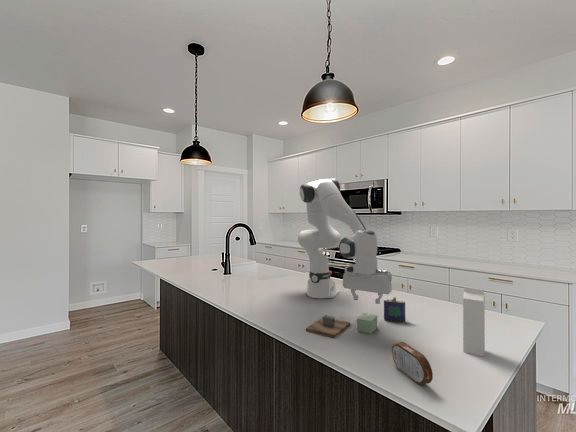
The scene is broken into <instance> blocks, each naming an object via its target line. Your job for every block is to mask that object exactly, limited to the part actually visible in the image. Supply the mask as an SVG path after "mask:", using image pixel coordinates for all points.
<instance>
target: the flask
mask: <svg viewBox="0 0 576 432" xmlns="http://www.w3.org/2000/svg"><path fill="white" fill-rule="evenodd" d="M383 319H384V321H385V322H394V323H405V322H406V320H407V319H406V301H405V300H397V297H396V296H394V297H393V298H392V299H389V298H387V299H384V300H383Z"/></svg>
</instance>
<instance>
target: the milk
mask: <svg viewBox="0 0 576 432" xmlns="http://www.w3.org/2000/svg"><path fill="white" fill-rule="evenodd" d="M485 297H486V296H485V290H484V289H480V288H473V287H464V288H463V298H462V308H463V309H462V330H463V331H462V335H463V337H462V343H463V344H462V346H463V347H462V352H463V353H467V354H469V355H474V356H479V357H484V355H485V350H486V349H485V348H486V346H485V342H486V341H485V340H486V337H485V336H486V335H485V334H486V333H485V330H486V329H485V327H486V326H485V324H486V322H485V320H486V318H485V317H486V316H485V313H486V311H485V309H486V308H485V307H486V306H485V303H486V302H485Z"/></svg>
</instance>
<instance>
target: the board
mask: <svg viewBox="0 0 576 432" xmlns="http://www.w3.org/2000/svg"><path fill="white" fill-rule="evenodd" d="M350 326H351V321H350V322H349V321H346V320H341V319H336V318H335V325H334V326H333V327H329V326H325V325H323V317H321V318H319V319H318V320H316V321H314V323H312V324H310V325H309V326H307V327H305V331H306V332H309V333H312V334H317V335H321V336H324V337H329V338H333V339H335V338H337V337H338V336H339V335H340V334H342V333H343V332H344V331H345V330H346V329H348V328H349V327H350Z"/></svg>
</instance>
